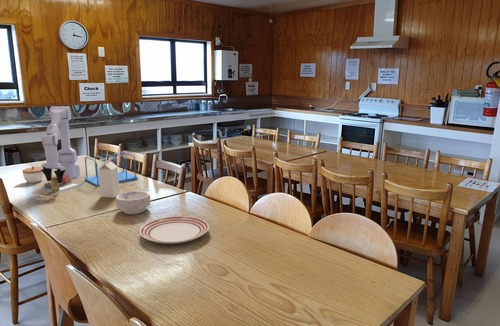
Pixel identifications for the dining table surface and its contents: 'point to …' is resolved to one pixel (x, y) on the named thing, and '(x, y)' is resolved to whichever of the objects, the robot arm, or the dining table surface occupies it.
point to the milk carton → (108, 179)
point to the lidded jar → (33, 174)
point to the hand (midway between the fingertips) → (54, 181)
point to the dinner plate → (174, 229)
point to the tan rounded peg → (54, 184)
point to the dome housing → (50, 184)
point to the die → (65, 179)
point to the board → (61, 187)
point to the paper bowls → (133, 202)
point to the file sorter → (121, 175)
